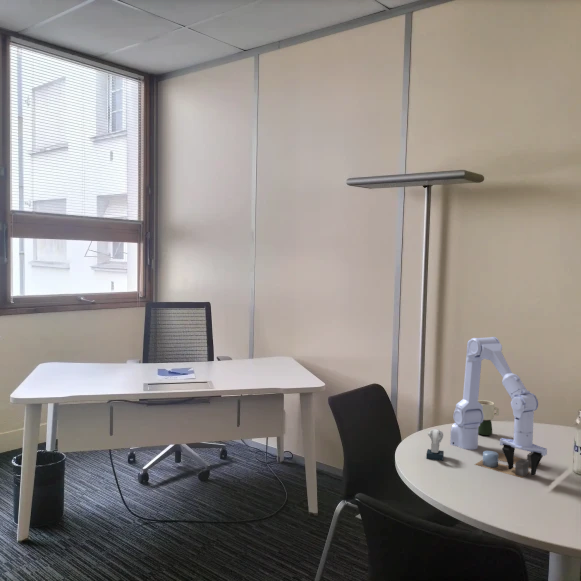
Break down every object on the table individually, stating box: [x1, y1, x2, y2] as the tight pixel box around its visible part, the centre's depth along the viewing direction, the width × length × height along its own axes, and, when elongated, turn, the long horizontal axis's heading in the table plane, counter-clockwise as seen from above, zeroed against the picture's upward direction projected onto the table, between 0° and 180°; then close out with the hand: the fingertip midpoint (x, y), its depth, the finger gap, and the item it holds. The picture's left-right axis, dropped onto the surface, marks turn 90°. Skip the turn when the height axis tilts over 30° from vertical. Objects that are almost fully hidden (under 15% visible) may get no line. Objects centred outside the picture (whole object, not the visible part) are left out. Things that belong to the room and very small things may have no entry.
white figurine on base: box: [425, 428, 445, 462], centre depth 195 cm, size 6×8×11 cm
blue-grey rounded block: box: [482, 450, 499, 468], centre depth 189 cm, size 5×5×4 cm
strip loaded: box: [474, 458, 530, 479], centre depth 186 cm, size 16×7×5 cm, turn 47°
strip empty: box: [496, 451, 542, 470], centre depth 193 cm, size 16×7×5 cm, turn 47°
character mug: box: [478, 399, 500, 436], centre depth 224 cm, size 11×7×13 cm, turn 79°
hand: (521, 471), depth 182 cm, fingers open, 7 cm apart
